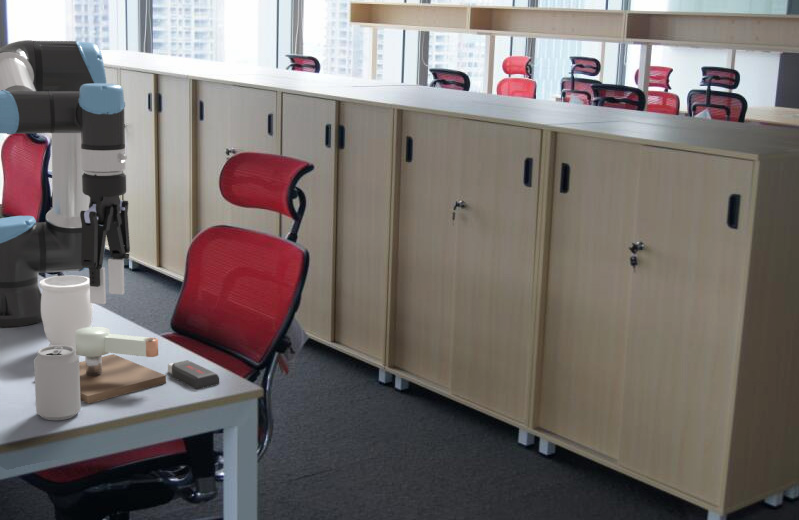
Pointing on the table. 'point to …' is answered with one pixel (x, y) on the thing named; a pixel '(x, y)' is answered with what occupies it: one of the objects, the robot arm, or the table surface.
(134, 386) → the base plate
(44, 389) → the can
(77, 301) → the jar
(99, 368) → the stud
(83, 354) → the tan-tipped lever stick
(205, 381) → the usb drive
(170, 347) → the table surface
